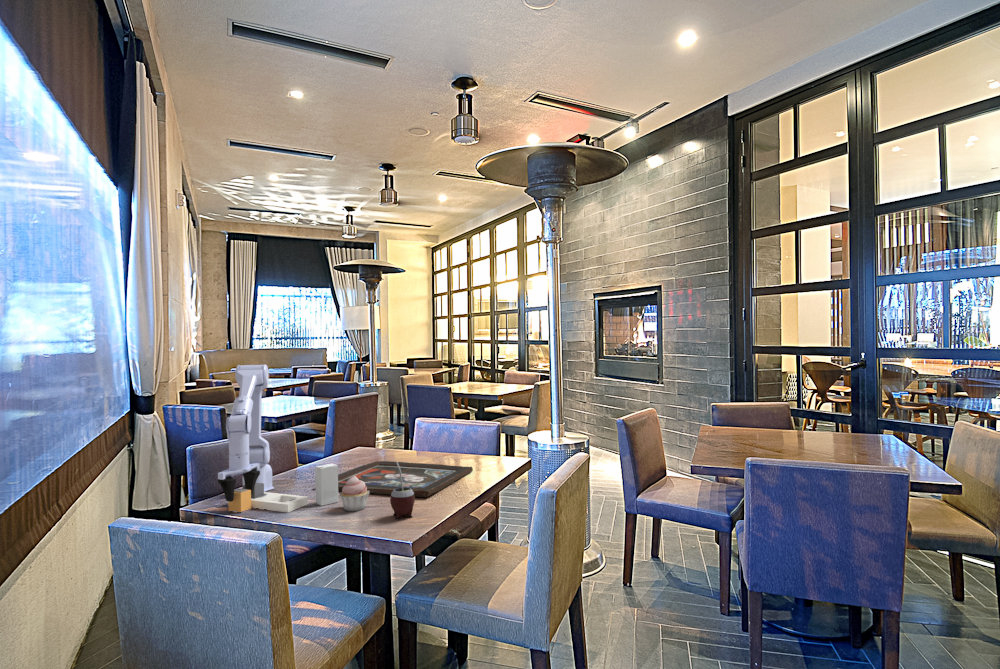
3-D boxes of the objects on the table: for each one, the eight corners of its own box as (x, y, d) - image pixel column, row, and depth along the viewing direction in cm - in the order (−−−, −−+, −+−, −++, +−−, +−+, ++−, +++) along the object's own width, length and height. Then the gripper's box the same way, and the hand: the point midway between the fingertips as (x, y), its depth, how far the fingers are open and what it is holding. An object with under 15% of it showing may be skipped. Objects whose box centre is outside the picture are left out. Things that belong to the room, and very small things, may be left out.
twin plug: (252, 500, 187) (251, 479, 187) (264, 501, 185) (263, 480, 185) (242, 503, 183) (242, 482, 183) (254, 505, 181) (254, 483, 181)
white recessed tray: (249, 497, 190) (249, 489, 190) (308, 504, 182) (307, 496, 182) (228, 505, 182) (227, 497, 182) (288, 512, 173) (287, 503, 173)
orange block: (238, 507, 179) (238, 487, 179) (251, 509, 177) (250, 489, 177) (228, 511, 175) (228, 491, 175) (241, 513, 173) (240, 492, 173)
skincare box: (332, 499, 186) (332, 462, 186) (339, 502, 183) (338, 464, 183) (314, 503, 182) (314, 465, 182) (321, 506, 179) (320, 467, 179)
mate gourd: (406, 521, 163) (405, 469, 163) (383, 518, 166) (382, 467, 166) (420, 513, 170) (419, 463, 170) (397, 511, 173) (396, 461, 173)
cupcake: (373, 503, 181) (372, 472, 181) (366, 512, 172) (365, 479, 172) (343, 504, 181) (343, 472, 181) (335, 513, 172) (334, 480, 172)
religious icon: (431, 500, 185) (431, 490, 185) (314, 491, 199) (314, 482, 199) (476, 472, 223) (476, 465, 223) (375, 467, 237) (375, 459, 237)
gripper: (230, 459, 168) (230, 505, 168) (266, 450, 182) (267, 492, 181) (212, 457, 171) (212, 503, 170) (249, 448, 184) (250, 490, 184)
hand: (239, 497), depth 176 cm, fingers open, 7 cm apart
